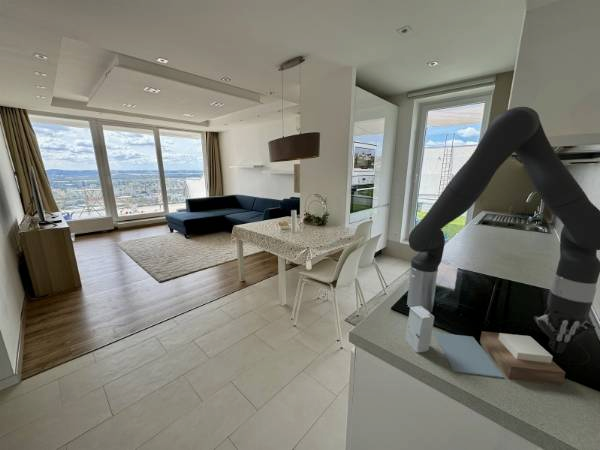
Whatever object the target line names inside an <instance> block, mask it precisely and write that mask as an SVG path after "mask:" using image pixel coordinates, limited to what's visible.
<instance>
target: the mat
mask: <svg viewBox="0 0 600 450" xmlns="http://www.w3.org/2000/svg"><path fill="white" fill-rule="evenodd" d="M433 336H434V337H435V339H436V341H437V343H438V345H439V346H440V348H441V350H442V351H443V354H444V355H445V357H446V359H447V361H448V363H449V366H450V367H451V369H452V370H453V372H454V373H458V374H459V373H460V374H468V375H474V376H475V375H476V376H483V377H488V378H489V377H490V378H499V379H505V376H504V375H503V373H502V372H501V371H500V370H499V367H497V366H496V363H495V362H494V361H492V360H493V359H492V358H490V356H489V354H488V353H486V352H485V351H486V350H485V349H484V348H483V346H482V345H481V344H479V342H478V341H477V340H476V339H475V337H474V336H471V335H470V336H469V335H461V334H453V333H452V334H451V333H442V332H433Z"/></svg>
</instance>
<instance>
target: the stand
mask: <svg viewBox="0 0 600 450" xmlns="http://www.w3.org/2000/svg"><path fill="white" fill-rule="evenodd" d="M499 333H500V332H492V331H491V332H490V331H481V334H480V339H479V343H480V346H481V347H482V348H483V349H484V351H486V352H487V355H488V356H489V357H491V360H493V362H494V364H495V365H497V366H498V369H500V370H501V371H502V372H503V373H502V374H504V375H505V376H506V378H507V379H508V380H514V381H523V382H529V383H536V384H545V385H553V386H560V387H562V386H563V383H564V380H565V376H566V371H564V370H563V369H562V367H560V366H559V365H558V364H557V363H555V361H553V360H552V362H551V363H547V362H538V361H530V360H521V359H516V358H515V357H514V356H513V355H512V354H511V352H510V351H509V350H508V349H507V348H506V347H505V346H504V345H503V344H502V342H501V341H500V340H499V339H498V338H499Z"/></svg>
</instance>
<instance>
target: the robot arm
mask: <svg viewBox="0 0 600 450" xmlns="http://www.w3.org/2000/svg"><path fill="white" fill-rule="evenodd" d="M512 154H516V155H517V157H518V158H519V160H520V162H521V163H522V164H523V166H524V168H525V170H526V172H527V174H528V177H529V179H530V182H531V184H532V186H533V188H534V190H535V191H536V194H537V195H538V197H539V198H540V199H541V200H542V202H543V203H544V205H545V206H546V208H547V210H549V212H550V213H551V214H553V215H554V216H555V217H556V218H558V219H559V220H560V222H561V223H562V224H563V227H562V228H561V232H560V238H559V240H560V241H559V254H560V257H559V261H558V264H557V268H556V271H555V275H554V276H553V279H552V282H551V284H550V285H551V286H550V289H549V293H548V297H547V302H546V304H547V309H546V310H545V311H544V314H543V315H542V316H538V315H534V316H533V320H534V321H535V323H536V324H537V326H538V327H539V328H540V330H541V331H542V333H543V334H545V335H546V336H548V337H549V338H550V339H549V342H548V347H549V349H551V351H553V352H554V353H558V354H559V353H560V354H562V353H563V352H564V351H565V349H566V347H567V344H568V342H570V341H571V340H572V341H578V340H580V339H581V338H582V337H584V336H586V335H588V333H591V332H592V331H593V330H595V329H596V326H595V325H593V324H592V323H590V322H589V321H587V317H588V316H590V313H591V310H592V305H593V302H594V299H595V295H596V292H597V284H598V281H599V278H600V277H599V276H600V259H599V258H598V256H597V253H598V251H600V209H599V208H598V207H597V206H596V205H595V204H593V202H592V201H591V200H590V199H589V197H588V195H587V194H586V193H585V191H584V190H583V188H582V186H581V185H580V184H579V182H578V181H577V180H576V179H575V177H574V175H572V173H571V172H570V171H569V169H568V168H567V166H565V164H564V163H563V162H562V160H561V159H560V158H559V156H558V154H557V153H556V152H555V149H554V148H553V146H552V145H551V143H550V141H549V138H548V137H547V135H546V133H545V130H544V128H543V125H542V123H541V119H540V116H539V114H538V112H537V111H536V110H534V109H533V108H531V107H528V106H516V107H511V108H510V109H507V110H504V111H503V112H501V113H499V114H497V116H495V118H494V119H492V120H491V122H490V124H489V125H488V127H487V129H486V130H485V132H484V134H483V136H482V138H481V139H480V141H479V143H478V144H477V146H476V148H475V150H474V151H473V152H472V154H471V156H470V157H469V158H468V159H467V161H466V162H465V163H464V164H463V165H462V166H461V167H460V169H459V170H458V171H457V172H456V173H455V174H454V176H453V177H452V178H451V180H449V182H448V184H447V185H446V186H445V188H444V189H443V190H442V192H441V193H440V195H439V197H438V198H437V199H436V201H435V202H434V203H433V205H432V206H431V207H430V209H429V210H428V212H427V213H426V214H425V215H424V216H423V218H422V219H421V220H420V221H419V222H418V223H417V224H416V225H415V227H414V228H413V229H412V230H411V232H410V233H409V236H408V245H409V248H411V249H412V250H413V251H414V252H418V253H417V254H416V255H415V256H413V257H412V259H411V263H410V273H409V283H408V290H407V291H408V292H407V302H406V305H408V306H407V308H408V307H409V308H410V307H416V306H422V307H423V308H424V309H426V310H427V311H428V312H429V313H430V314H432V313H433V307H434V303H435V301H434V300H435V294H436V287H437V279H438V278H437V277H438V270H439V266H440V265H441V263H442V260H443V256H444V250H445V242H446V238H445V233H444V231H443V230H442V229H443V228H444V227H445V226H447V225H448V224H450V223H452V222H453V221H455V220H456V219H458V218H459V217H460V216H462V215H463V214H464V213H466V212H467V211H468V210H470V208H471V207H472V206H473V205H474V204H475V203H476V202H477V201H478V200H479V198H480V197H481V195H482V194H483V193H484V191H486V189H487V187H488V186H489V184H490V182H491V180H492V179H493V178H494V177H493V176H495V174H496V172H497V171H498V169H499V168H500V167H501V166H502V165H503V164H504V163H505V162H506V160H508V159H509V158H510V157H511V156H512ZM409 308H408V309H409Z"/></svg>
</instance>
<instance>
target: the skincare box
mask: <svg viewBox="0 0 600 450" xmlns="http://www.w3.org/2000/svg"><path fill="white" fill-rule="evenodd" d="M408 313H409V314H408V320H407V327H406V334H405V341H406V342H407V344H408V345H409V346H410V347H411V348H412V349H413V351H414V352H416V353H424V352H429V350H430V344H431V340H432V339H431V338H432V332H433V329H434V322H435V316H434V315H433V314H432V313H429V312H428V311H427V310H426V309H424V308H423V307H422V306H416V307H410V309H409V312H408Z"/></svg>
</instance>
